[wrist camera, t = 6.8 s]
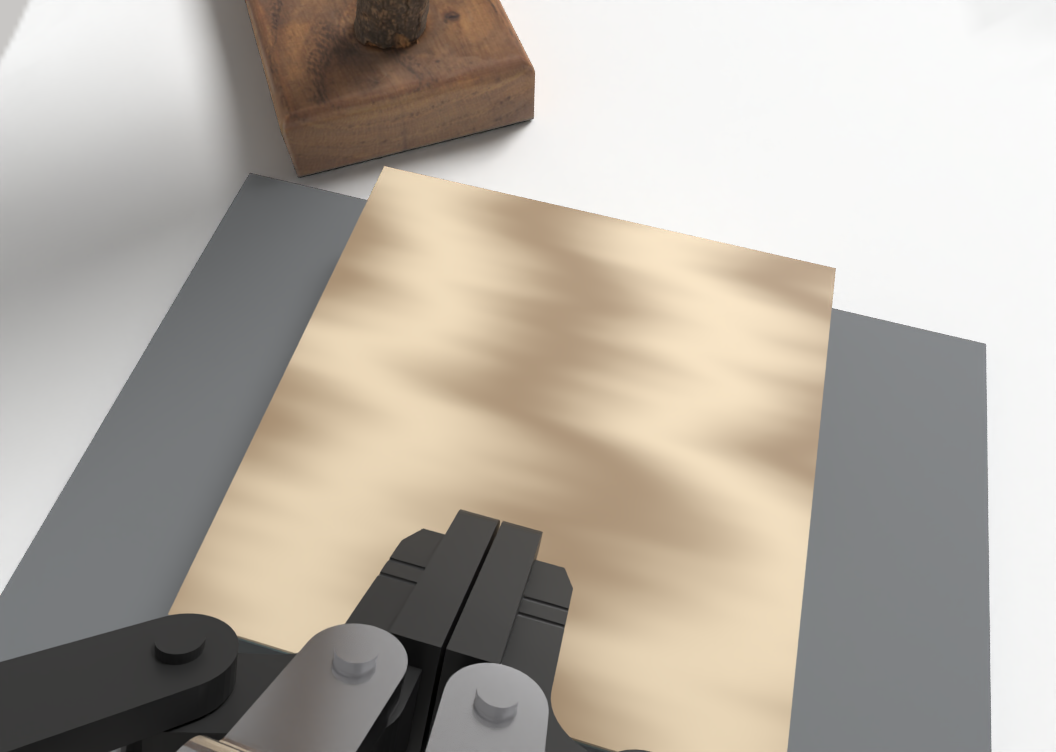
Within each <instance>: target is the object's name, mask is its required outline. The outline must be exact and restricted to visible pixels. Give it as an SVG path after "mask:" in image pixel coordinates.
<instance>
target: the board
mask: <svg viewBox="0 0 1056 752" xmlns="http://www.w3.org/2000/svg"><path fill="white" fill-rule="evenodd" d="M835 271H836V268H832V267H827V266H823V265H819V264H814V263H810V262H805V261H801V260H797V259H792V258H788V257H783V256H779V255H774V254H770V253H766V252H761V251H757V250H752V249H748V248H744V247H739V246H735V245H730V244H726V243H722V242H717V241H713V240H708V239H704V238H699V237H695V236H691V235H686V234H682V233H677V232H673V231H669V230H664V229H660V228H655V227H651V226H647V225H642V224H638V223H633V222H629V221H624V220H620V219H616V218H611V217H607V216H602V215H598V214H594V213H589V212H585V211H580V210H576V209H572V208H567V207H563V206H558V205H554V204H549V203H545V202H541V201H536V200H532V199H527V198H523V197H519V196H514V195H510V194H505V193H501V192H497V191H492V190H488V189H483V188H479V187H474V186H470V185H466V184H461V183H457V182H452V181H448V180H444V179H439V178H435V177H430V176H426V175H422V174H417V173H413V172H408V171H404V170H399V169H395V168H391V167H386V166H384V167H383V169H382V172H381V174H380V176H379V178H378V180H377V182H376V184H375V186H374V188H373V190H372V192H371V194H370V196H369V198H368V201H367V203H366V205H365V207H364V209H363V211H362V213H361V215H360V217H359V219H358V221H357V223H356V225H355V227H354V230H353V232H352V234H351V236H350V238H349V240H348V242H347V244H346V246H345V248H344V250H343V252H342V254H341V257H340V259H339V261H338V263H337V265H336V267H335V269H334V271H333V273H332V275H331V277H330V279H329V281H328V283H327V286H326V288H325V290H324V292H323V294H322V296H321V298H320V300H319V302H318V304H317V306H316V308H315V310H314V312H313V315H312V317H311V319H310V321H309V323H308V325H307V327H306V329H305V331H304V333H303V335H302V337H301V339H300V341H299V344H298V346H297V348H296V350H295V352H294V354H293V356H292V358H291V360H290V362H289V364H288V366H287V368H286V371H285V373H284V375H283V377H282V379H281V381H280V383H279V385H278V387H277V389H276V391H275V393H274V395H273V397H272V400H271V402H270V404H269V406H268V408H267V410H266V412H265V414H264V416H263V418H262V420H261V422H260V424H259V426H258V429H257V431H256V433H255V435H254V437H253V439H252V441H251V443H250V445H249V447H248V449H247V451H246V453H245V456H244V458H243V460H242V462H241V464H240V466H239V468H238V470H237V472H236V474H235V476H234V478H233V480H232V482H231V485H230V487H229V489H228V491H227V493H226V495H225V497H224V499H223V501H222V503H221V505H220V507H219V509H218V511H217V514H216V516H215V518H214V520H213V522H212V524H211V526H210V528H209V530H208V532H207V534H206V536H205V538H204V541H203V543H202V545H201V547H200V549H199V551H198V553H197V555H196V557H195V559H194V561H193V563H192V565H191V567H190V570H189V572H188V574H187V576H186V578H185V580H184V582H183V584H182V586H181V588H180V590H179V592H178V594H177V596H176V599H175V601H174V603H173V605H172V607H171V609H170V611H169V613H168V614H169V615H174V614H185V613H194V614H203V615H208V616H212V617H214V618H217V619H220V620H221V621H223V622H225V623H226V624H228V625H229V626H230V627H231V628H232V629H233V630H234V631H235V633H236V635H237V637H238V640H242V641H245V642H248V643H252V644H255V645H258V646H261V647H265V648H268V649H271V650H274V651H278V652H281V653H284V654H293V653H298V652H299V651H300V650H301V649H302V648H303V647H304V645H305V644H306V643H307V642H308V641H309V640H310V639H311V638H312V637H313V636H314V635H316V634H317V633H319V632H320V631H323V630H325V629H327V628H330V627H333V626H336V625H341V624H345V623H346V621H347V620H348V618H349V617H350V615H351V614H352V612H353V611H354V609H355V608H356V606H357V605H358V603H359V602H360V600H361V599H362V598H363V596H364V595H365V593H366V592H367V590H368V589H369V587H370V586H371V584H372V583H373V581H374V580H375V578H376V577H377V576H379V574H380V571H381V570H382V568H383V567H384V565H385V564H386V562H387V561H389V559H390V556H391V555H392V554H393V552H394V551H395V549H396V548H397V546H398V545H399V543H400V542H401V540H403V539H405V538H406V537H408V536H410V535H412V534H414V533H416V532H417V531H419V530H421V529H423V528H424V529H427V530H431V531H434V532H438V533H442V534H446V532H447V530H448V528H449V527H450V525H451V523H452V522H453V520H454V518H455V516H456V515H457V513H458V511H459V510H460V509H462V510H466V511H469V512H473V513H476V514H480V515H484V516H487V517H491V518H495V519H498V520H500V526H501V523H502V522H503V521H506V522H510V523H513V524H517V525H520V526H524V527H528V528H531V529H535V530H539V531H542V532H543V534H542V538H541V543H540V547H539V551H538V555H537V560H538V561H542V562H546V563H549V564H553V565H556V566H560V567H563V568H565V570H566V572H567V575H568V577H569V580H570V582H571V585H572V587H573V591H572V596H571V601H570V606H569V610H568V615H567V620H566V625H565V629H564V634H563V639H562V644H561V648H560V653H559V658H558V663H557V667H556V672H555V677H554V682H553V686H552V691H551V705H552V709H553V712H554V715H555V717H556V719H557V721H558V723H559V724H560V726H561V727H562V729H563V730H564V731H565V732H566V733H567V734H568V735H569V737H571V738H572V739H573V740H574V741H575V742H576V743H578V744H582V745H585V746H588V747H591V748H595V749H598V750H601V751H604V752H619V751H623V750H630V749H638V750H646V751H650V752H787V748H788V738H789V728H790V718H791V708H792V698H793V688H794V678H795V668H796V659H797V649H798V639H799V629H800V619H801V609H802V599H803V589H804V579H805V569H806V559H807V549H808V539H809V529H810V519H811V509H812V499H813V489H814V479H815V469H816V460H817V450H818V440H819V430H820V420H821V410H822V400H823V390H824V380H825V370H826V360H827V350H828V340H829V330H830V320H831V310H832V300H833V290H834V280H835ZM499 528H500V527H499Z"/></svg>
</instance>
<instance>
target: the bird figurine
mask: <svg viewBox="0 0 1056 752" xmlns="http://www.w3.org/2000/svg"><path fill="white" fill-rule="evenodd" d="M245 2H246V5H247V9H248V13H249V16H250V20H251V24H252V27H253V31H254V35H255V38H256V42H257V46H258V49H259V53H260V57H261V60H262V64H263V68H264V71H265V75H266V79H267V82H268V86H269V90H270V93H271V97H272V101H273V104H274V108H275V112H276V115H277V119H278V123H279V126H280V130H281V134H282V136H283V139H284V141H285V144H286V147H287V149H288V152H289V154H290V157H291V160H292V162H293V165H294V167H295V170H296V173H297V175H298V177H302V176H306V175H310V174H314V173H318V172H322V171H326V170H330V169H334V168H338V167H342V166H346V165H350V164H354V163H358V162H362V161H366V160H370V159H374V158H378V157H382V156H386V155H390V154H394V153H398V152H402V151H406V150H410V149H414V148H418V147H422V146H426V145H430V144H434V143H438V142H442V141H446V140H450V139H454V138H458V137H462V136H466V135H470V134H474V133H478V132H482V131H486V130H490V129H494V128H498V127H502V126H506V125H510V124H514V123H518V122H522V121H526V120H530V119H533V118H534V90H535V71H534V68H533V66H532V64H531V62H530V60H529V58H528V56H527V54H526V52H525V50H524V48H523V46H522V44H521V42H520V40H519V38H518V36H517V34H516V32H515V30H514V28H513V26H512V24H511V22H510V20H509V18H508V16H507V14H506V12H505V10H504V8H503V6H502V4H501V2H500V1H499V0H245Z"/></svg>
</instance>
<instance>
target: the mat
mask: <svg viewBox="0 0 1056 752" xmlns="http://www.w3.org/2000/svg"><path fill="white" fill-rule="evenodd" d="M367 201H368V200H364V199H360V198H356V197H351V196H347V195H343V194H339V193H334V192H330V191H326V190H321V189H317V188H313V187H308V186H304V185H300V184H296V183H291V182H287V181H283V180H278V179H274V178H270V177H265V176H261V175H257V174H253V173H250V174H249V175H248V177H247V179H246V180H245V182H244V184H243V185H242V187H241V189H240V191H239V192H238V194H237V196H236V197H235V199H234V201H233V202H232V204H231V206H230V207H229V209H228V211H227V213H226V214H225V216H224V218H223V219H222V221H221V223H220V224H219V226H218V228H217V230H216V231H215V233H214V235H213V236H212V238H211V240H210V241H209V243H208V245H207V246H206V248H205V250H204V252H203V253H202V255H201V257H200V258H199V260H198V262H197V263H196V265H195V267H194V269H193V270H192V272H191V274H190V275H189V277H188V279H187V280H186V282H185V284H184V285H183V287H182V289H181V291H180V292H179V294H178V296H177V297H176V299H175V301H174V302H173V304H172V306H171V307H170V309H169V311H168V313H167V314H166V316H165V318H164V319H163V321H162V323H161V324H160V326H159V328H158V330H157V331H156V333H155V335H154V336H153V338H152V340H151V341H150V343H149V345H148V346H147V348H146V350H145V352H144V353H143V355H142V357H141V358H140V360H139V362H138V363H137V365H136V367H135V369H134V370H133V372H132V374H131V375H130V377H129V379H128V380H127V382H126V384H125V385H124V387H123V389H122V391H121V392H120V394H119V396H118V397H117V399H116V401H115V402H114V404H113V406H112V407H111V409H110V411H109V413H108V414H107V416H106V418H105V419H104V421H103V423H102V424H101V426H100V428H99V430H98V431H97V433H96V435H95V436H94V438H93V440H92V441H91V443H90V445H89V446H88V448H87V450H86V452H85V453H84V455H83V457H82V458H81V460H80V462H79V463H78V465H77V467H76V469H75V470H74V472H73V474H72V475H71V477H70V479H69V480H68V482H67V484H66V485H65V487H64V489H63V491H62V492H61V494H60V496H59V497H58V499H57V501H56V502H55V504H54V506H53V507H52V509H51V511H50V513H49V514H48V516H47V518H46V519H45V521H44V523H43V524H42V526H41V528H40V530H39V531H38V533H37V535H36V536H35V538H34V540H33V541H32V543H31V545H30V546H29V548H28V550H27V552H26V553H25V555H24V557H23V558H22V560H21V562H20V563H19V565H18V567H17V569H16V570H15V572H14V574H13V575H12V577H11V579H10V580H9V582H8V584H7V585H6V587H5V589H4V591H3V592H2V594H1V596H0V662H2V661H5V660H9V659H13V658H16V657H20V656H24V655H27V654H31V653H34V652H38V651H42V650H45V649H49V648H52V647H56V646H60V645H63V644H67V643H70V642H74V641H78V640H81V639H85V638H88V637H92V636H96V635H99V634H103V633H106V632H110V631H114V630H117V629H121V628H124V627H128V626H132V625H135V624H139V623H142V622H146V621H150V620H153V619H157V618H160V617H164V616H169V614H168V613H169V611H170V609H171V607H172V605H173V603H174V601H175V599H176V596H177V594H178V592H179V590H180V588H181V586H182V584H183V582H184V580H185V578H186V576H187V574H188V572H189V570H190V567H191V565H192V563H193V561H194V559H195V557H196V555H197V553H198V551H199V549H200V547H201V545H202V543H203V541H204V538H205V536H206V534H207V532H208V530H209V528H210V526H211V524H212V522H213V520H214V518H215V516H216V514H217V511H218V509H219V507H220V505H221V503H222V501H223V499H224V497H225V495H226V493H227V491H228V489H229V487H230V485H231V482H232V480H233V478H234V476H235V474H236V472H237V470H238V468H239V466H240V464H241V462H242V460H243V458H244V456H245V453H246V451H247V449H248V447H249V445H250V443H251V441H252V439H253V437H254V435H255V433H256V431H257V429H258V426H259V424H260V422H261V420H262V418H263V416H264V414H265V412H266V410H267V408H268V406H269V404H270V402H271V400H272V397H273V395H274V393H275V391H276V389H277V387H278V385H279V383H280V381H281V379H282V377H283V375H284V373H285V371H286V368H287V366H288V364H289V362H290V360H291V358H292V356H293V354H294V352H295V350H296V348H297V346H298V344H299V341H300V339H301V337H302V335H303V333H304V331H305V329H306V327H307V325H308V323H309V321H310V319H311V317H312V315H313V312H314V310H315V308H316V306H317V304H318V302H319V300H320V298H321V296H322V294H323V292H324V290H325V288H326V286H327V283H328V281H329V279H330V277H331V275H332V273H333V271H334V269H335V267H336V265H337V263H338V261H339V259H340V257H341V254H342V252H343V250H344V248H345V246H346V244H347V242H348V240H349V238H350V236H351V234H352V232H353V230H354V227H355V225H356V223H357V221H358V219H359V217H360V215H361V213H362V211H363V209H364V207H365V205H366V203H367ZM238 642H239V649H238V653H254V654H284V653H281V652H278V651H274V650H271V649H268V648H265V647H261V646H258V645H255V644H252V643H248V642H245V641H242V640H238ZM577 744H578V743H577ZM579 745H580V746H582V747H583V748H585V749H586V750H588V751H589V752H604V751H601V750H598V749H595V748H591V747H588V746H585V745H582V744H579ZM110 752H116V749H115V750H113V751H110ZM787 752H991V693H990V617H989V542H988V466H987V390H986V344H984V343H979V342H975V341H971V340H967V339H962V338H958V337H954V336H949V335H945V334H941V333H936V332H932V331H928V330H924V329H919V328H915V327H911V326H906V325H902V324H898V323H893V322H889V321H885V320H881V319H876V318H872V317H868V316H863V315H859V314H855V313H850V312H846V311H842V310H838V309H833V308H832V310H831V320H830V330H829V340H828V350H827V360H826V370H825V380H824V390H823V400H822V410H821V420H820V430H819V440H818V450H817V460H816V469H815V479H814V489H813V499H812V509H811V519H810V529H809V539H808V549H807V559H806V569H805V579H804V589H803V599H802V609H801V619H800V629H799V639H798V649H797V659H796V668H795V678H794V688H793V698H792V708H791V718H790V728H789V738H788V748H787Z"/></svg>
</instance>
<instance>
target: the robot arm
mask: <svg viewBox="0 0 1056 752" xmlns="http://www.w3.org/2000/svg"><path fill="white" fill-rule="evenodd" d="M499 527H500V528H499ZM542 534H543V532H542V531H539V530H535V529H531V528H528V527H524V526H520V525H517V524H513V523H510V522H506V521H503V522H502V523H501V526H500V520H498V519H495V518H491V517H487V516H484V515H480V514H476V513H473V512H469V511H466V510H462V509H460V510H459V511H458V513H457V515H456V516H455V518H454V520H453V522H452V523H451V525H450V527H449V528H448V530H447V532H446V534H442V533H438V532H434V531H431V530H427V529H424V528H423V529H421V530H419V531H417V532H416V533H414V534H412V535H410V536H408V537H406V538H405V539H403V540H401V542H400V543H399V545H398V546H397V548H396V549H395V551H394V552H393V554H392V555H391V556H390V559H389V561H387V562H386V564H385V565H384V567H383V568H382V570H381V571H380V574H379V576H377V577H376V578H375V580H374V581H373V583H372V584H371V586H370V587H369V589H368V590H367V592H366V593H365V595H364V596H363V598H362V599H361V600H360V602H359V603H358V605H357V606H356V608H355V609H354V611H353V612H352V614H351V615H350V617H349V618H348V620H347V621H346V623H345V624H341V625H336V626H333V627H330V628H327V629H325V630H323V631H320V632H319V633H317V634H316V635H314V636H313V637H312V638H311V639H310V640H309V641H308V642H307V643H306V644H305V645H304V647H303V648H302V649H301V650H300V651H299V652H298V653H293V654H254V653H238V649H239V642H238V637H237V635H236V633H235V631H234V630H233V629H232V628H231V627H230V626H229V625H228V624H226V623H225V622H223V621H221V620H220V619H217V618H214V617H212V616H208V615H203V614H194V613H185V614H174V615H169V616H164V617H160V618H157V619H153V620H150V621H146V622H142V623H139V624H135V625H132V626H128V627H124V628H121V629H117V630H114V631H110V632H106V633H103V634H99V635H96V636H92V637H88V638H85V639H81V640H78V641H74V642H70V643H67V644H63V645H60V646H56V647H52V648H49V649H45V650H42V651H38V652H34V653H31V654H27V655H24V656H20V657H16V658H13V659H9V660H5V661H2V662H0V752H110V751H113V750H115V749H116V752H589V751H588V750H586V749H585V748H583V747H582V746H580V745H579V744H577V743H576V742H575V741H574V740H573V739H572V738H571V737H569V735H568V734H567V733H566V732H565V731H564V730H563V729H562V727H561V726H560V724H559V723H558V721H557V719H556V717H555V715H554V712H553V709H552V705H551V691H552V686H553V682H554V677H555V672H556V667H557V663H558V658H559V653H560V648H561V644H562V639H563V634H564V629H565V625H566V620H567V615H568V610H569V606H570V601H571V596H572V591H573V587H572V585H571V582H570V580H569V577H568V575H567V572H566V570H565V568H563V567H560V566H556V565H553V564H549V563H546V562H542V561H538V560H537V555H538V551H539V547H540V543H541V538H542ZM619 752H650V751H646V750H638V749H630V750H623V751H619Z"/></svg>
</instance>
